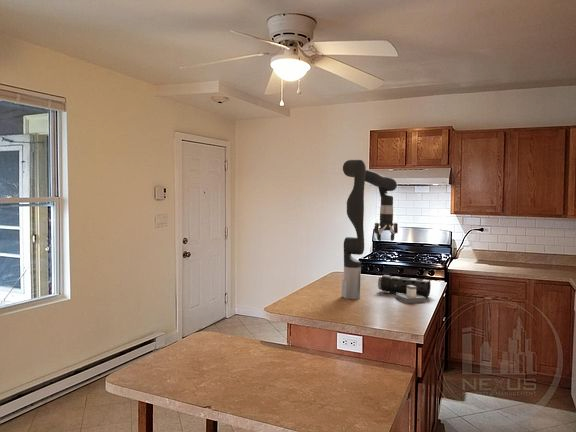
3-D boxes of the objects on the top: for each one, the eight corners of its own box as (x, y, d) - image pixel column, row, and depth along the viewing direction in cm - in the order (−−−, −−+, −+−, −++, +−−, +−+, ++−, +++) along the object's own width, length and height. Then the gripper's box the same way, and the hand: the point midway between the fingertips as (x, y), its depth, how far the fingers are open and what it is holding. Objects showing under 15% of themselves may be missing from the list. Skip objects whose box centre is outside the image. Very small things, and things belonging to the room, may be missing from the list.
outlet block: (406, 303, 228) (406, 298, 228) (396, 298, 237) (396, 294, 237) (425, 302, 231) (425, 297, 231) (414, 297, 241) (415, 293, 241)
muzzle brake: (426, 299, 237) (427, 281, 236) (377, 293, 251) (377, 275, 250) (430, 296, 245) (431, 278, 245) (382, 290, 259) (382, 273, 258)
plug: (410, 301, 231) (411, 286, 231) (406, 299, 236) (406, 285, 235) (415, 301, 232) (416, 286, 232) (411, 299, 236) (412, 285, 236)
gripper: (378, 213, 247) (378, 241, 248) (400, 213, 252) (399, 241, 252) (372, 212, 254) (371, 240, 255) (393, 212, 259) (392, 239, 259)
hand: (385, 240), depth 254 cm, fingers open, 8 cm apart
